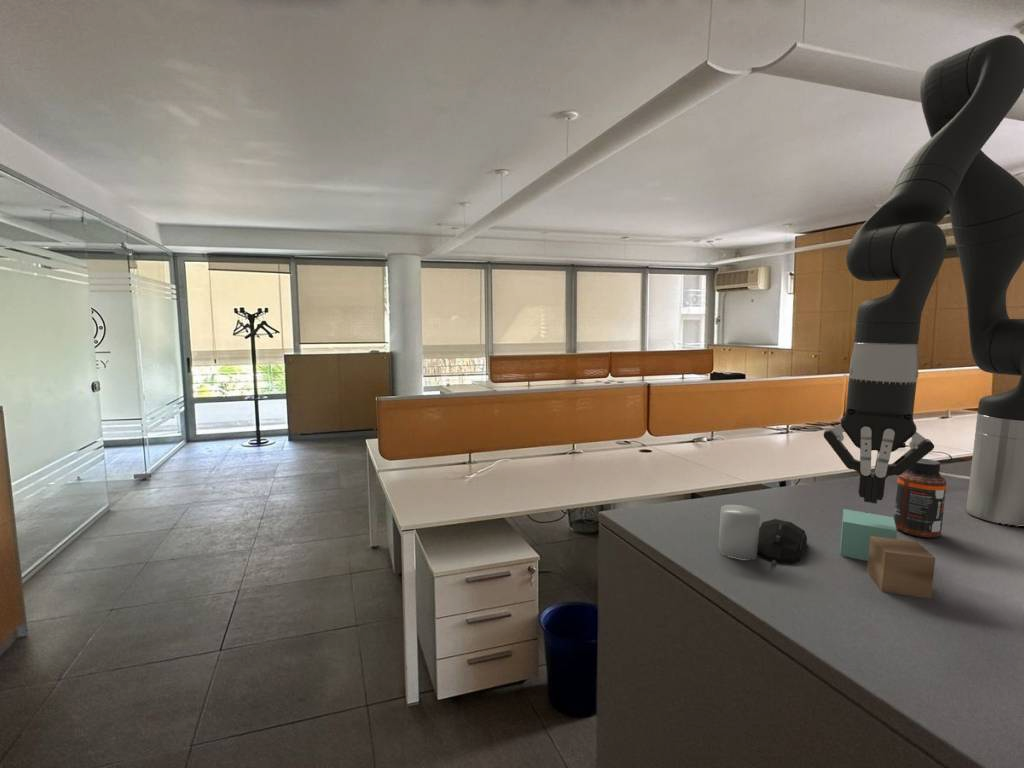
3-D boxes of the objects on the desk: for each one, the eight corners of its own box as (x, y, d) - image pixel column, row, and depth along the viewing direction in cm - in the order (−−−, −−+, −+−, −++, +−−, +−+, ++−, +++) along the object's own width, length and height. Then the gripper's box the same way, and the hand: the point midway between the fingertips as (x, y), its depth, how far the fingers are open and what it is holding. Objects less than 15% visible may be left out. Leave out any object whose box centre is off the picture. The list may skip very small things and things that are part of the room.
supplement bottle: (949, 541, 79) (958, 467, 77) (904, 537, 80) (912, 464, 78) (927, 526, 84) (934, 457, 83) (885, 523, 86) (892, 454, 84)
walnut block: (866, 573, 68) (870, 536, 67) (912, 579, 66) (916, 541, 66) (881, 591, 63) (885, 551, 63) (930, 598, 62) (935, 558, 61)
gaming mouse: (744, 567, 70) (746, 538, 69) (761, 531, 82) (763, 506, 82) (798, 580, 66) (801, 549, 66) (807, 541, 79) (810, 515, 78)
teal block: (840, 541, 78) (843, 508, 77) (889, 551, 75) (893, 517, 74) (840, 556, 73) (843, 521, 72) (893, 567, 70) (897, 531, 69)
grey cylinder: (722, 542, 77) (724, 502, 76) (759, 550, 74) (762, 509, 74) (714, 554, 73) (717, 512, 72) (754, 563, 70) (757, 520, 69)
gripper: (940, 378, 71) (926, 503, 73) (826, 372, 78) (816, 486, 80) (949, 383, 65) (934, 519, 66) (824, 375, 72) (813, 499, 73)
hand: (869, 501), depth 73 cm, fingers closed
